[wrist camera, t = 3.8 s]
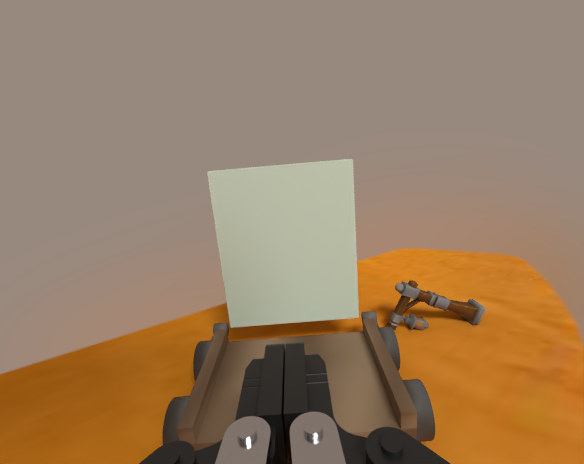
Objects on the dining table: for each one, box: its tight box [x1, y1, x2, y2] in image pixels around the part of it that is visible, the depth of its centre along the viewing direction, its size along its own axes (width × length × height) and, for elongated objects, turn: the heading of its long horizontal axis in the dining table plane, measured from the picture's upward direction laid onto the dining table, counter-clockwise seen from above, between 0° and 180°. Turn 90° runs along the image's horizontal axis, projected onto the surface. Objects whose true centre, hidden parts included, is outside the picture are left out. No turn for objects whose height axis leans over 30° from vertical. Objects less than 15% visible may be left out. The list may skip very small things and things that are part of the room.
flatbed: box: [163, 311, 435, 451], centre depth 22 cm, size 14×10×3 cm
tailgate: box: [207, 159, 359, 328], centre depth 25 cm, size 10×1×12 cm, turn 90°
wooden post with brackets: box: [387, 281, 486, 330], centre depth 29 cm, size 2×8×4 cm, turn 97°
